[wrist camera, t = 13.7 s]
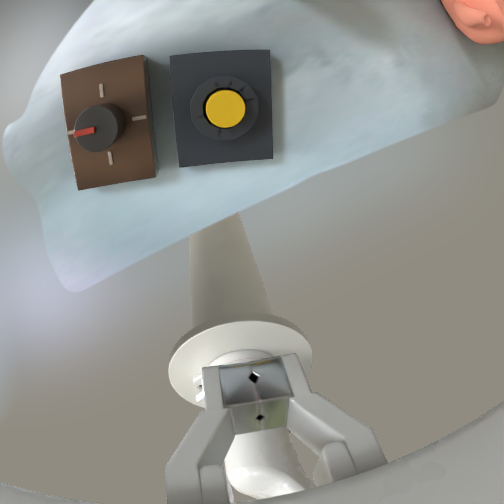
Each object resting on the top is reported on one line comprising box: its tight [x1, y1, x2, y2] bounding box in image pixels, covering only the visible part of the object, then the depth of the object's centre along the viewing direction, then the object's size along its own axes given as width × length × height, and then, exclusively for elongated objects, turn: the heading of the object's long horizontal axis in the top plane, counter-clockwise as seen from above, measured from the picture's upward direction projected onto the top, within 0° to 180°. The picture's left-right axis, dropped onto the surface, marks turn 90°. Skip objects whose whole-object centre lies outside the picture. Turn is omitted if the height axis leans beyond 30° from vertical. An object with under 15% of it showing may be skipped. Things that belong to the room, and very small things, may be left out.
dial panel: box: [60, 55, 159, 190], centre depth 28 cm, size 13×9×3 cm
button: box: [206, 90, 245, 128], centre depth 27 cm, size 4×4×2 cm
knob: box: [73, 103, 126, 152], centre depth 25 cm, size 4×4×4 cm
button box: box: [170, 50, 273, 167], centre depth 29 cm, size 12×10×4 cm
